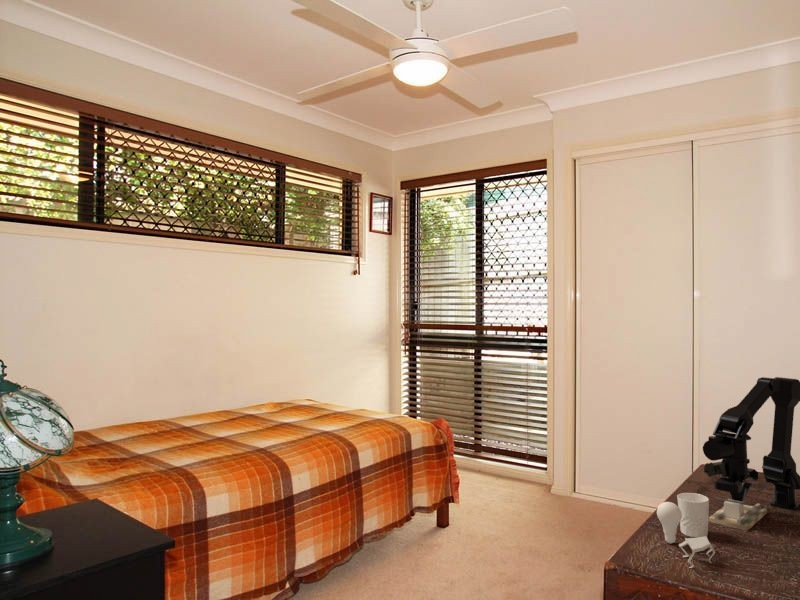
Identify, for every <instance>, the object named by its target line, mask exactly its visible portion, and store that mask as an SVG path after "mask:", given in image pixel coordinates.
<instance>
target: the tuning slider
mask: <svg viewBox="0 0 800 600" xmlns="http://www.w3.org/2000/svg"><path fill="white" fill-rule="evenodd" d="M715 499H716V500H720V501H724V502H723V507H724V516H726V517H731V518H735V519H739V518H740V517H741V516H742V515H744V505H748V506H753V505H752V504H751V503H746V502H745V501H744V502H741V501H737V500H733V499H732V498H728V499H726V498H722V497H716V498H715Z"/></svg>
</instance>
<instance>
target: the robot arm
mask: <svg viewBox="0 0 800 600" xmlns="http://www.w3.org/2000/svg"><path fill="white" fill-rule="evenodd" d="M769 398H771V400H772V402H773V403H774V415H773V416H774V417H773V430H772V441H771V451H769V453H768V454H767V455H763V457H762V466H761V469H762V473H763V477H764V478H765V482H766V483H769V484H773V500H772V501H771V502H770V505H771V506H776V507H780V508H785V509H790V510H796V509H797V508H798V507H799V506H800V502H798V501H797V491H796V490H800V474H799V473H798V472H797V463H796V462H795V460H794V458H793V457H792V456H793V455H792V441H793V440H792V439H793V429H794V428H793V426H794V415H795V413H794V412H795V407H797V405H798V404H799V402H800V380H799V379H798V378H787V377H779V376H776V377H774V378H773V377H764V376H763V377H759V378H758V379H757V381H756V384H755V385H754V386H753V387H752V388H751V389H750V391H749V392H748V393H746V395H745V396H744V397H743V399H741V400H740V402H739V403H738V404H737V405H736V406H733V407H730V408H728V409H726V410H725V411H724V412H723V413H721V415H720V416H719V419H718V421H717V423H716V426H715V428H714V430H713V431H712V435H710V436H708V440H707V441H705V442H704V443H703V446H702V452H703V454H704V456H705V457H706V458H707V459H708V460H709V461H710V462H709V463H708V462H707V463H705V464H704V466H703V473H705V474H706V475H707V477H708V478H711V477H713V476H717V475H721V477H719V479H717V480H716V481H714V489H715V490H718V491H723V492H728V493H730V496H731V499H732V500H737V501H741V502H744V503H745V499H746V497H747V495H748V493H749V491H750V490H751V487H752V486H753V484H752V483H748V482H747V480H748V479H749V478H752V480H753V481H758V480H759V472H758V471H757V470H756V469H755V468H752V467H751V468H749V466H748V465H749V464H750V462H751V461H750V459H749V458H748V450H747V449H748V447H747V442H748V441H750V440H752V437H751V436H750V435H749V434H748V433H749V432H750V430H751V429H752V427H753V425H754V417H755V415H756V414H757V412H758V411H759V410H760V409H761V408H762V407H763V405H764V404H765V403H766V402H767V401H768V399H769ZM719 460H721V461H719ZM711 461H712V462H711Z"/></svg>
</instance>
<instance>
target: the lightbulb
mask: <svg viewBox="0 0 800 600" xmlns="http://www.w3.org/2000/svg"><path fill="white" fill-rule="evenodd" d="M656 516H657V518H658V519H659V522H660V523H661V525H662V530H663V534H664V538H665V539H664V540H665V542H667V543H668V544H675V542H676V537H677V536H676V535H677V528H678V526H679V525H680V521H681V518H682V513H681V510H680V509H679V507H678V504H675V503H674V502H671V501H663V502H661V503H660V504H659V505H658V507H657V508H656Z"/></svg>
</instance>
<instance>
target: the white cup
mask: <svg viewBox="0 0 800 600" xmlns="http://www.w3.org/2000/svg"><path fill="white" fill-rule="evenodd" d="M676 497H677V498H676V499H677V500H676V501H677V506H678V507H679V509H680V510H681V513H682V518H681V521H680V523H679V526H680V528H679V529H680V532H681V533H682V534H683V535H685V536H687V537H690V538H698V537H704V536H707V537H708V534H709V517H710V515H709V509H710V508H709V506H710V503H709V501H710V499H709V498H708V496H706V495H703V494H701V493H694V492H683V493H679V494H677V495H676Z"/></svg>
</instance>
